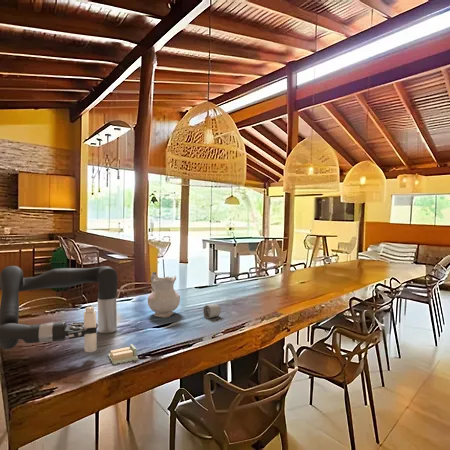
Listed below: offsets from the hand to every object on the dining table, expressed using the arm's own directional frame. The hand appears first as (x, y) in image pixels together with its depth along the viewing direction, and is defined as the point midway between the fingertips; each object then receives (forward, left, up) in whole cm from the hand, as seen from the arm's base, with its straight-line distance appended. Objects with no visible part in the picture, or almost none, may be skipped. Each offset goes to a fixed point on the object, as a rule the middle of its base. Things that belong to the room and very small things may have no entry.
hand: (96, 328), depth 148 cm
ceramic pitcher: (-46, +46, -13) cm, 67 cm away
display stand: (+5, +9, -13) cm, 17 cm away
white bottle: (-1, -2, -9) cm, 9 cm away
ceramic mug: (-27, +69, -13) cm, 75 cm away
